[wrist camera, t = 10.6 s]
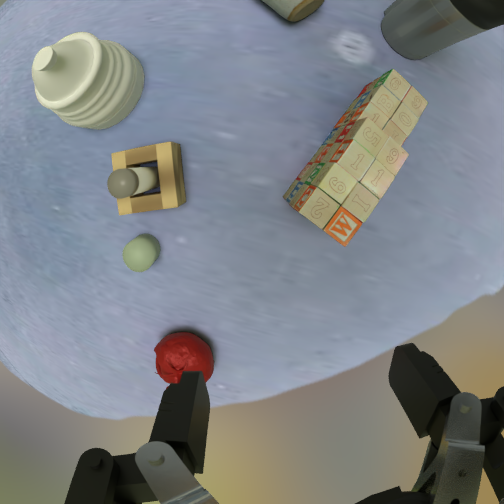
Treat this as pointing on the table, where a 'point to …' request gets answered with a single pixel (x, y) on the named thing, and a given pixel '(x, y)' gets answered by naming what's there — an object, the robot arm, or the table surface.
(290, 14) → the ceramic mug
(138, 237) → the bead
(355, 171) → the stack of blocks
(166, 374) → the pomegranate
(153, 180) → the cream capped cylinder
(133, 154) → the bead block
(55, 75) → the honey pot
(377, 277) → the table surface
